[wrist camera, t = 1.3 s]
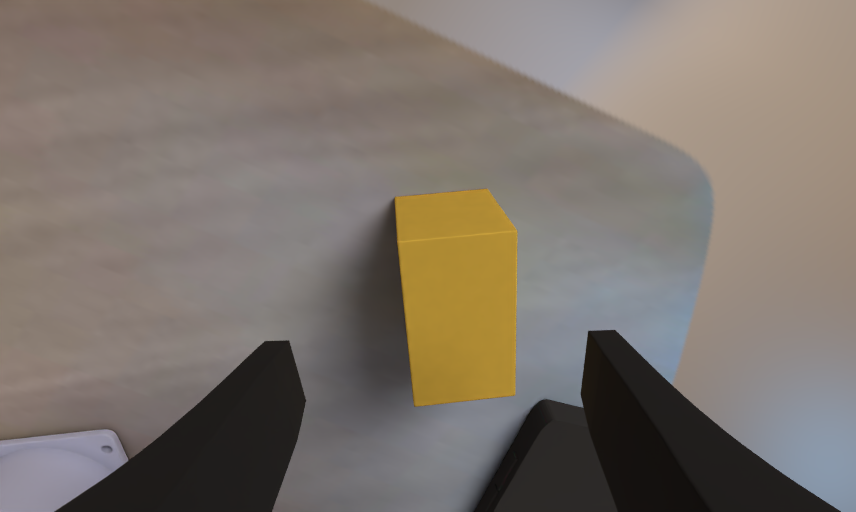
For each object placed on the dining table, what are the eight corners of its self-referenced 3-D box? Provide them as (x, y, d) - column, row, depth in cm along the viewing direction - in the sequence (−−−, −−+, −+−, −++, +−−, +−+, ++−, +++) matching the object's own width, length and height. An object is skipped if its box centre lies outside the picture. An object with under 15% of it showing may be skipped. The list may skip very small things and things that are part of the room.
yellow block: (489, 326, 23) (515, 396, 18) (408, 335, 23) (414, 407, 18) (487, 188, 20) (517, 230, 15) (394, 196, 20) (397, 241, 15)
